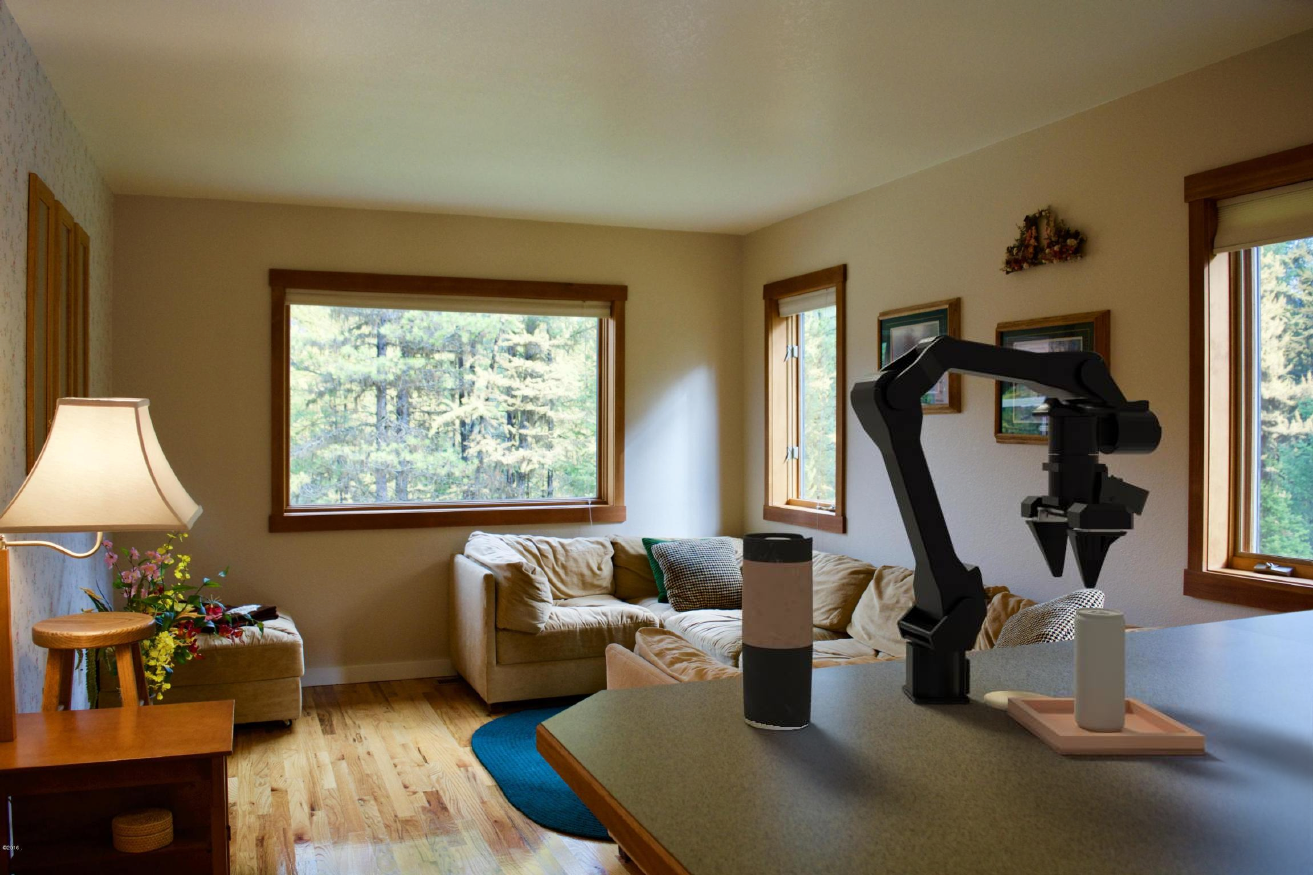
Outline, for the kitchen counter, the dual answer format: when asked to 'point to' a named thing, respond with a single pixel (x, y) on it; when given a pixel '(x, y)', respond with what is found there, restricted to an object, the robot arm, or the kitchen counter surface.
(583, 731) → the kitchen counter surface
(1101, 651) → the beverage can
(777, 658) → the travel mug
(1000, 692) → the cork coaster
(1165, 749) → the tray
